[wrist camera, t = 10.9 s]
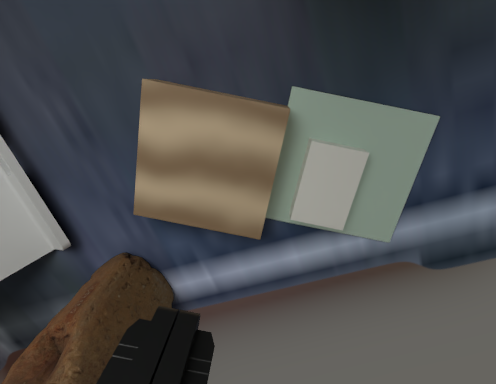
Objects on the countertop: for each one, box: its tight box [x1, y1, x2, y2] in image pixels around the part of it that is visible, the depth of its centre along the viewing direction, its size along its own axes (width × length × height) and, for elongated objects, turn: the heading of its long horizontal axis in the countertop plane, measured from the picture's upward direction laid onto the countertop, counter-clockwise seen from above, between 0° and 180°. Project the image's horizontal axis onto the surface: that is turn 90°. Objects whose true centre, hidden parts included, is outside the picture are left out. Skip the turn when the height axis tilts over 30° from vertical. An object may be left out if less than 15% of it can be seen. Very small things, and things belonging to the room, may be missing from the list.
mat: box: [265, 86, 440, 242], centre depth 33 cm, size 15×16×1 cm
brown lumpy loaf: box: [1, 253, 174, 384], centre depth 31 cm, size 11×8×20 cm
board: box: [134, 79, 290, 239], centre depth 32 cm, size 14×14×4 cm
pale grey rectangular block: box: [289, 138, 369, 231], centre depth 33 cm, size 9×6×2 cm, turn 169°
